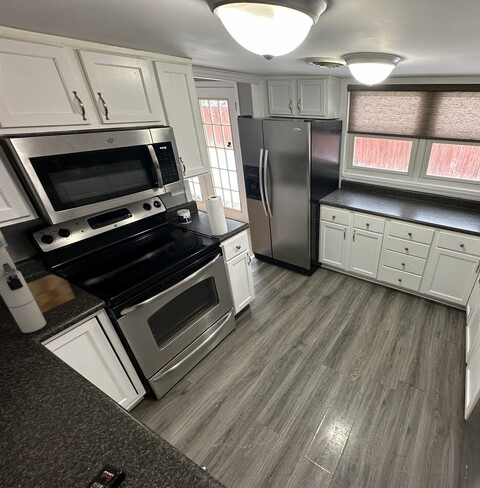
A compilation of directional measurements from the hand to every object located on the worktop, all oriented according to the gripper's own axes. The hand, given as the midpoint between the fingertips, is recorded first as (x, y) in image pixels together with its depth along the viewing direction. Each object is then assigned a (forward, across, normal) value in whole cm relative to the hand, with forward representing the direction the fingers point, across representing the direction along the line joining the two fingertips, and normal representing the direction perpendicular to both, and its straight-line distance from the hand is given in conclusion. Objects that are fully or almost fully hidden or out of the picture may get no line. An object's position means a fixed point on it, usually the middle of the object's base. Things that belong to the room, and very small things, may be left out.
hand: (12, 285), depth 101 cm
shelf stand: (+23, -21, +13) cm, 34 cm away
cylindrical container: (+20, 0, 0) cm, 20 cm away
